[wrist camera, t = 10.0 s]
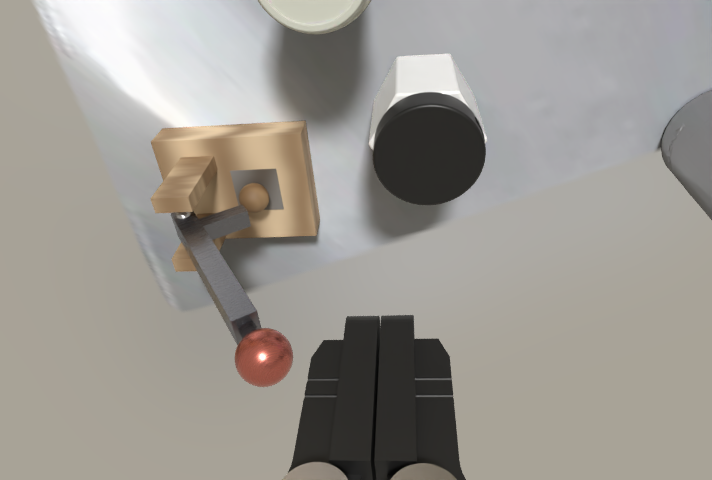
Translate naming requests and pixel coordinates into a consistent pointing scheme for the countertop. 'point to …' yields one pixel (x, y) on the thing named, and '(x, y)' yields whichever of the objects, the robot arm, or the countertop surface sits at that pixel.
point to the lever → (234, 296)
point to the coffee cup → (314, 13)
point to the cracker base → (239, 178)
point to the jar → (426, 131)
